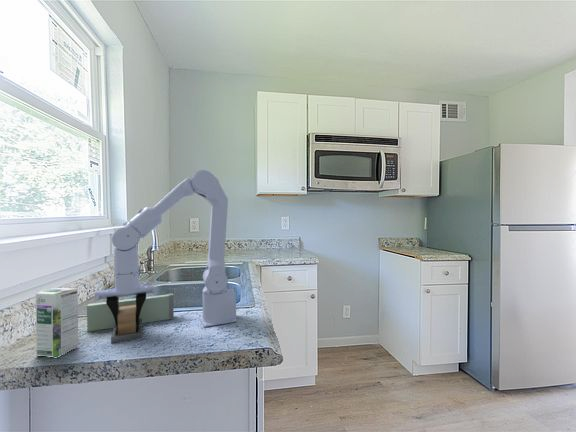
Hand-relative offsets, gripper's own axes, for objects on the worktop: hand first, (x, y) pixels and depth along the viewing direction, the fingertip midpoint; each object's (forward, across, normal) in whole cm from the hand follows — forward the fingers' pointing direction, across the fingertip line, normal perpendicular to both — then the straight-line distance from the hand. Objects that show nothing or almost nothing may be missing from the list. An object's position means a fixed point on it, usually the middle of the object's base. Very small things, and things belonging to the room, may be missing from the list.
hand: (127, 322), depth 79 cm
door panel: (+3, -1, -7) cm, 8 cm away
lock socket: (+3, 0, 0) cm, 3 cm away
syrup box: (+3, +14, +5) cm, 15 cm away
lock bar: (+2, 0, 0) cm, 2 cm away
